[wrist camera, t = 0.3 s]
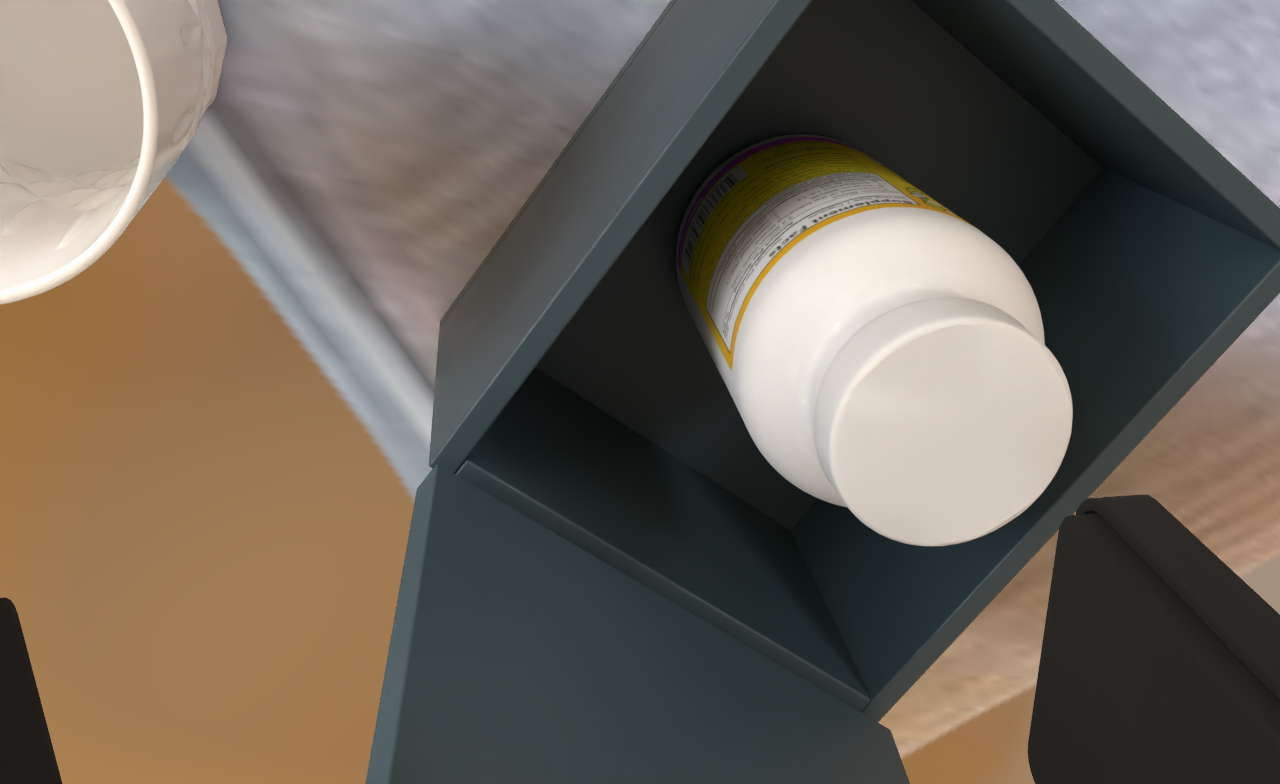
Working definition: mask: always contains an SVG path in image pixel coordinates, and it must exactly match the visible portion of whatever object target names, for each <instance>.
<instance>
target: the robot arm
mask: <svg viewBox="0 0 1280 784" xmlns="http://www.w3.org/2000/svg"><path fill="white" fill-rule="evenodd" d="M1028 758H1029V764H1030V769H1031V773H1032V776H1033V778H1034V781H1035V783H1036V784H1280V615H1279V614H1278V613H1277V612H1276V611H1275V610H1274V609H1273V608H1272V607H1271V606H1270V605H1268V603H1266V602H1265V601H1264V600H1263V599H1262V598H1261V597H1260V596H1259V595H1258V594H1257V593H1256V592H1255V591H1254V590H1253V589H1251V588H1250V587H1249V586H1248V585H1247V584H1246V583H1245V582H1244V581H1243V580H1242V579H1241V578H1240V577H1238V576H1237V575H1236V574H1235V573H1234V572H1233V571H1232V570H1231V569H1230V568H1229V567H1228V566H1227V565H1226V564H1224V563H1223V562H1222V561H1221V560H1220V559H1219V558H1218V557H1217V556H1216V555H1215V554H1214V553H1213V552H1212V551H1210V550H1209V549H1208V548H1207V547H1206V546H1205V545H1204V544H1203V543H1202V542H1201V541H1200V540H1199V539H1198V538H1196V537H1195V536H1194V535H1193V534H1192V533H1191V532H1190V531H1189V530H1188V529H1187V528H1186V527H1185V526H1183V525H1182V524H1181V523H1180V522H1179V521H1178V520H1177V519H1176V518H1175V517H1174V516H1173V515H1172V514H1171V513H1169V512H1168V511H1167V510H1166V509H1165V508H1164V507H1163V506H1162V505H1161V504H1160V503H1159V502H1158V501H1157V500H1155V499H1154V498H1152V497H1150V496H1149V495H1131V496H1117V497H1104V498H1091V499H1086V500H1085V501H1083V502H1082V503H1081V504H1080V506H1079V507H1078V509H1077V511H1076V515H1069V516H1067V517H1065V518H1064V519H1063V521H1062V523H1061V525H1060V529H1059V533H1058V540H1057V547H1056V554H1055V561H1054V568H1053V575H1052V582H1051V588H1050V595H1049V602H1048V609H1047V616H1046V623H1045V630H1044V637H1043V644H1042V651H1041V658H1040V665H1039V672H1038V679H1037V686H1036V693H1035V700H1034V707H1033V714H1032V721H1031V728H1030V735H1029V741H1028ZM0 784H62V781H61V777H60V773H59V770H58V766H57V762H56V758H55V755H54V751H53V747H52V743H51V739H50V735H49V732H48V728H47V724H46V720H45V717H44V712H43V709H42V705H41V701H40V697H39V693H38V690H37V686H36V682H35V678H34V675H33V671H32V667H31V663H30V659H29V655H28V652H27V648H26V644H25V640H24V636H23V632H22V628H21V625H20V621H19V617H18V614H17V611H16V608H15V606H14V604H13V603H12V601H11V600H9V599H7V598H0Z"/></svg>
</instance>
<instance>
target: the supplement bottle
mask: <svg viewBox="0 0 1280 784" xmlns="http://www.w3.org/2000/svg"><path fill="white" fill-rule="evenodd" d="M676 272H677V279H678V283H679V288H680V291H681V294H682V297H683V300H684V302H685V305H686V307H687V309H688V311H689V314H690V316H691V318H692V320H693V322H694V324H695V326H696V328H697V330H698V331H699V333H700V335H701V337H702V339H703V341H704V343H705V345H706V347H707V349H708V351H709V353H710V355H711V357H712V359H713V361H714V363H715V365H716V367H717V369H718V371H719V373H720V375H721V376H722V378H723V380H724V382H725V384H726V386H727V388H728V390H729V392H730V394H731V396H732V398H733V400H734V402H735V404H736V407H737V409H738V411H739V413H740V415H741V417H742V419H743V421H744V423H745V425H746V428H747V430H748V432H749V434H750V436H751V438H752V439H753V441H754V443H755V444H756V446H757V448H758V449H759V451H760V452H761V453H762V455H763V456H764V457H765V459H766V460H767V461H768V462H769V463H770V465H771V466H772V467H773V468H774V469H775V470H776V471H777V472H778V473H780V474H781V475H782V476H783V477H784V478H785V479H786V480H788V481H789V482H791V483H792V484H793V485H795V486H796V487H798V488H799V489H801V490H803V491H804V492H806V493H808V494H810V495H812V496H814V497H816V498H818V499H821V500H823V501H826V502H829V503H832V504H835V505H839V506H843V507H848V509H849V510H850V511H851V512H852V513H853V514H854V515H855V516H856V517H857V518H858V519H859V520H860V521H861V522H862V523H864V524H865V525H866V526H867V527H869V528H871V529H872V530H874V531H875V532H877V533H878V534H880V535H883V536H885V537H887V538H889V539H892V540H895V541H898V542H902V543H905V544H910V545H918V546H946V545H953V544H959V543H963V542H967V541H971V540H973V539H976V538H979V537H982V536H984V535H987V534H989V533H991V532H993V531H995V530H997V529H998V528H1000V527H1002V526H1003V525H1005V524H1007V523H1008V522H1010V521H1011V520H1013V519H1014V518H1016V517H1017V516H1019V515H1020V514H1021V513H1022V512H1024V511H1025V510H1026V509H1027V508H1028V507H1029V506H1031V505H1032V504H1033V502H1034V501H1035V500H1036V499H1037V498H1038V497H1039V496H1040V495H1041V494H1042V493H1043V492H1044V490H1045V489H1046V487H1047V486H1048V485H1049V484H1050V482H1051V481H1052V479H1053V478H1054V476H1055V474H1056V472H1057V471H1058V469H1059V467H1060V465H1061V463H1062V460H1063V458H1064V455H1065V453H1066V450H1067V447H1068V444H1069V440H1070V436H1071V430H1072V419H1073V406H1072V397H1071V393H1070V389H1069V385H1068V382H1067V379H1066V377H1065V374H1064V372H1063V370H1062V368H1061V366H1060V364H1059V362H1058V361H1057V359H1056V358H1055V357H1054V355H1053V354H1052V353H1051V351H1050V350H1049V349H1048V348H1047V347H1046V346H1045V340H1044V329H1043V323H1042V318H1041V313H1040V309H1039V306H1038V303H1037V300H1036V297H1035V295H1034V292H1033V290H1032V288H1031V285H1030V284H1029V282H1028V280H1027V279H1026V277H1025V275H1024V274H1023V272H1022V270H1021V269H1020V268H1019V267H1018V265H1017V264H1016V263H1015V261H1014V260H1013V259H1012V258H1011V257H1010V255H1009V254H1008V253H1007V252H1006V251H1005V250H1004V249H1003V248H1001V247H1000V246H999V245H998V244H997V243H996V242H994V241H993V240H992V239H990V238H989V237H988V236H986V235H985V234H984V233H982V232H981V231H980V230H979V229H977V228H976V227H974V226H973V225H971V224H969V223H968V222H966V221H965V220H963V219H962V218H960V217H959V216H957V215H956V214H954V213H953V212H952V211H950V210H948V209H947V208H945V207H944V206H942V205H941V204H939V203H938V202H937V201H935V200H934V199H932V198H931V197H929V196H928V195H926V194H925V193H923V192H922V191H920V190H919V189H917V188H916V187H914V186H913V185H911V184H910V183H909V182H907V181H906V180H904V179H903V178H901V177H900V176H899V175H897V174H896V173H894V172H893V171H891V170H890V169H889V168H887V167H885V166H884V165H883V164H881V163H880V162H878V161H877V160H875V159H874V158H872V157H870V156H869V155H867V154H865V153H864V152H862V151H860V150H859V149H857V148H855V147H853V146H851V145H849V144H847V143H844V142H842V141H839V140H836V139H833V138H829V137H825V136H819V135H810V134H794V135H784V136H778V137H774V138H770V139H767V140H764V141H761V142H759V143H756V144H754V145H751V146H749V147H747V148H745V149H743V150H741V151H740V152H738V153H736V154H735V155H733V156H732V157H730V158H729V159H727V160H726V161H725V162H724V163H722V164H721V165H720V166H719V167H718V168H716V169H715V170H714V171H713V172H712V173H711V174H710V175H709V176H708V177H707V179H706V180H705V181H704V182H703V184H702V185H701V186H700V188H699V189H698V190H697V192H696V193H695V195H694V197H693V198H692V200H691V202H690V204H689V206H688V208H687V211H686V213H685V216H684V218H683V221H682V223H681V227H680V231H679V235H678V240H677V249H676Z"/></svg>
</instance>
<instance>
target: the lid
mask: <svg viewBox="0 0 1280 784" xmlns="http://www.w3.org/2000/svg"><path fill="white" fill-rule="evenodd" d="M366 784H910V783H909V780H908V777H907V775H906V772H905V769H904V766H903V764H902V761H901V758H900V755H899V752H898V750H897V747H896V744H895V741H894V739H893V736H892V733H891V731H890V730H889V729H888V728H886V727H884V726H883V725H881V724H879V723H878V722H876V721H874V720H873V719H871V718H869V717H867V716H866V715H864V714H862V713H861V712H859V711H857V710H855V709H854V708H852V707H850V706H849V705H847V704H845V703H844V702H842V701H840V700H838V699H837V698H835V697H833V696H832V695H830V694H828V693H827V692H825V691H823V690H821V689H820V688H818V687H816V686H815V685H813V684H811V683H809V682H808V681H806V680H804V679H803V678H801V677H799V676H798V675H796V674H794V673H792V672H791V671H789V670H787V669H786V668H784V667H782V666H781V665H779V664H777V663H775V662H774V661H772V660H770V659H769V658H767V657H765V656H764V655H762V654H760V653H758V652H757V651H755V650H753V649H752V648H750V647H748V646H746V645H745V644H743V643H741V642H740V641H738V640H736V639H735V638H733V637H731V636H729V635H728V634H726V633H724V632H723V631H721V630H719V629H718V628H716V627H714V626H712V625H711V624H709V623H707V622H706V621H704V620H702V619H700V618H699V617H697V616H695V615H694V614H692V613H690V612H689V611H687V610H685V609H683V608H682V607H680V606H678V605H677V604H675V603H673V602H672V601H670V600H668V599H666V598H665V597H663V596H661V595H660V594H658V593H656V592H654V591H653V590H651V589H649V588H648V587H646V586H644V585H643V584H641V583H639V582H637V581H636V580H634V579H632V578H631V577H629V576H627V575H626V574H624V573H622V572H620V571H619V570H617V569H615V568H614V567H612V566H610V565H608V564H607V563H605V562H603V561H602V560H600V559H598V558H597V557H595V556H593V555H591V554H590V553H588V552H586V551H585V550H583V549H581V548H580V547H578V546H576V545H574V544H573V543H571V542H569V541H568V540H566V539H564V538H562V537H561V536H559V535H557V534H556V533H554V532H552V531H551V530H549V529H547V528H545V527H544V526H542V525H540V524H539V523H537V522H535V521H534V520H532V519H530V518H528V517H527V516H525V515H523V514H522V513H520V512H518V511H516V510H515V509H513V508H511V507H510V506H508V505H506V504H505V503H503V502H501V501H499V500H498V499H496V498H494V497H493V496H491V495H489V494H488V493H486V492H484V491H482V490H481V489H479V488H477V487H476V486H474V485H472V484H470V483H469V482H467V481H465V480H464V479H462V478H460V477H459V476H457V475H455V474H453V473H452V472H450V471H448V470H447V469H445V468H443V467H442V466H440V465H436V466H435V467H434V468H433V469H432V471H431V472H430V473H429V474H428V476H427V477H426V478H425V480H424V481H423V482H422V483H421V485H420V486H419V487H418V488H417V492H416V498H415V504H414V509H413V515H412V521H411V527H410V532H409V538H408V544H407V550H406V555H405V561H404V567H403V573H402V578H401V584H400V590H399V596H398V601H397V607H396V613H395V618H394V624H393V630H392V635H391V641H390V647H389V653H388V659H387V664H386V670H385V675H384V682H383V687H382V693H381V698H380V704H379V710H378V716H377V721H376V727H375V733H374V739H373V744H372V750H371V756H370V761H369V768H368V773H367V778H366Z"/></svg>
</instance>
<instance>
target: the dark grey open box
mask: <svg viewBox="0 0 1280 784" xmlns="http://www.w3.org/2000/svg"><path fill="white" fill-rule="evenodd" d="M794 134H810V135H819V136H825V137H829V138H833V139H836V140H839V141H842V142H844V143H847V144H849V145H851V146H853V147H855V148H857V149H859V150H860V151H862V152H864V153H865V154H867V155H869V156H870V157H872V158H874V159H875V160H877V161H878V162H880V163H881V164H883V165H884V166H885V167H887V168H889V169H890V170H891V171H893V172H894V173H896V174H897V175H899V176H900V177H901V178H903V179H904V180H906V181H907V182H909V183H910V184H911V185H913V186H914V187H916V188H917V189H919V190H920V191H922V192H923V193H925V194H926V195H928V196H929V197H931V198H932V199H934V200H935V201H937V202H938V203H939V204H941V205H942V206H944V207H945V208H947V209H948V210H950V211H952V212H953V213H954V214H956V215H957V216H959V217H960V218H962V219H963V220H965V221H966V222H968V223H969V224H971V225H973V226H974V227H976V228H977V229H979V230H980V231H981V232H982V233H984V234H985V235H986V236H988V237H989V238H990V239H992V240H993V241H994V242H996V243H997V244H998V245H999V246H1000V247H1001V248H1003V249H1004V250H1005V251H1006V252H1007V253H1008V254H1009V255H1010V257H1011V258H1012V259H1013V260H1014V261H1015V263H1016V264H1017V265H1018V267H1019V268H1020V269H1021V270H1022V272H1023V274H1024V275H1025V277H1026V279H1027V280H1028V282H1029V284H1030V285H1031V288H1032V290H1033V292H1034V295H1035V297H1036V300H1037V303H1038V306H1039V309H1040V313H1041V318H1042V323H1043V329H1044V340H1045V346H1046V347H1047V348H1048V349H1049V350H1050V351H1051V353H1052V354H1053V355H1054V357H1055V358H1056V359H1057V361H1058V362H1059V364H1060V366H1061V368H1062V370H1063V372H1064V374H1065V377H1066V379H1067V382H1068V385H1069V389H1070V393H1071V397H1072V406H1073V419H1072V430H1071V436H1070V440H1069V444H1068V447H1067V450H1066V453H1065V455H1064V458H1063V460H1062V463H1061V465H1060V467H1059V469H1058V471H1057V472H1056V474H1055V476H1054V478H1053V479H1052V481H1051V482H1050V484H1049V485H1048V486H1047V487H1046V489H1045V490H1044V492H1043V493H1042V494H1041V495H1040V496H1039V497H1038V498H1037V499H1036V500H1035V501H1034V502H1033V504H1032V505H1031V506H1029V507H1028V508H1027V509H1026V510H1025V511H1024V512H1022V513H1021V514H1020V515H1019V516H1017V517H1016V518H1014V519H1013V520H1011V521H1010V522H1008V523H1007V524H1005V525H1003V526H1002V527H1000V528H998V529H997V530H995V531H993V532H991V533H989V534H987V535H984V536H982V537H979V538H976V539H973V540H971V541H967V542H963V543H959V544H953V545H946V546H918V545H910V544H905V543H902V542H898V541H895V540H892V539H889V538H887V537H885V536H883V535H880V534H878V533H877V532H875V531H874V530H872V529H871V528H869V527H867V526H866V525H865V524H864V523H862V522H861V521H860V520H859V519H858V518H857V517H856V516H855V515H854V514H853V513H852V512H851V511H850V510H849V509H848V507H843V506H839V505H835V504H832V503H829V502H826V501H823V500H821V499H818V498H816V497H814V496H812V495H810V494H808V493H806V492H804V491H803V490H801V489H799V488H798V487H796V486H795V485H793V484H792V483H791V482H789V481H788V480H786V479H785V478H784V477H783V476H782V475H781V474H780V473H778V472H777V471H776V470H775V469H774V468H773V467H772V466H771V465H770V463H769V462H768V461H767V460H766V459H765V457H764V456H763V455H762V453H761V452H760V451H759V449H758V448H757V446H756V444H755V443H754V441H753V439H752V438H751V436H750V434H749V432H748V430H747V428H746V425H745V423H744V421H743V419H742V417H741V415H740V413H739V411H738V409H737V407H736V404H735V402H734V400H733V398H732V396H731V394H730V392H729V390H728V388H727V386H726V384H725V382H724V380H723V378H722V376H721V375H720V373H719V371H718V369H717V367H716V365H715V363H714V361H713V359H712V357H711V355H710V353H709V351H708V349H707V347H706V345H705V343H704V341H703V339H702V337H701V335H700V333H699V331H698V330H697V328H696V326H695V324H694V322H693V320H692V318H691V316H690V314H689V311H688V309H687V307H686V305H685V302H684V300H683V297H682V294H681V291H680V288H679V283H678V279H677V272H676V249H677V240H678V235H679V231H680V227H681V223H682V221H683V218H684V216H685V213H686V211H687V208H688V206H689V204H690V202H691V200H692V198H693V197H694V195H695V193H696V192H697V190H698V189H699V188H700V186H701V185H702V184H703V182H704V181H705V180H706V179H707V177H708V176H709V175H710V174H711V173H712V172H713V171H714V170H715V169H716V168H718V167H719V166H720V165H721V164H722V163H724V162H725V161H726V160H727V159H729V158H730V157H732V156H733V155H735V154H736V153H738V152H740V151H741V150H743V149H745V148H747V147H749V146H751V145H754V144H756V143H759V142H761V141H764V140H767V139H770V138H774V137H778V136H784V135H794ZM1279 293H1280V208H1279V207H1278V206H1277V205H1275V204H1274V203H1273V202H1272V201H1271V200H1270V199H1269V198H1268V197H1267V196H1266V195H1265V194H1264V193H1262V192H1261V191H1260V190H1259V189H1258V188H1257V187H1256V186H1255V185H1254V184H1253V183H1252V182H1251V181H1249V180H1248V179H1247V178H1246V177H1245V176H1244V175H1243V174H1242V173H1241V172H1240V171H1239V170H1238V169H1236V168H1235V167H1234V166H1233V165H1232V164H1231V163H1230V162H1229V161H1228V160H1227V159H1226V158H1225V157H1223V156H1222V155H1221V154H1220V153H1219V152H1218V151H1217V150H1216V149H1215V148H1214V147H1213V146H1212V145H1210V144H1209V143H1208V142H1207V141H1206V140H1205V139H1204V138H1203V137H1202V136H1201V135H1200V134H1199V133H1197V132H1196V131H1195V130H1194V129H1193V128H1192V127H1191V126H1190V125H1189V124H1188V123H1187V122H1186V121H1184V120H1183V119H1182V118H1181V117H1180V116H1179V115H1178V114H1177V113H1176V112H1175V111H1174V110H1173V109H1171V108H1170V107H1169V106H1168V105H1167V104H1166V103H1165V102H1164V101H1163V100H1162V99H1161V98H1159V97H1158V96H1157V95H1156V94H1155V93H1154V92H1153V91H1152V90H1151V89H1150V88H1149V87H1148V86H1146V85H1145V84H1144V83H1143V82H1142V81H1141V80H1140V79H1139V78H1138V77H1137V76H1136V75H1135V74H1133V73H1132V72H1131V71H1130V70H1129V69H1128V68H1127V67H1126V66H1125V65H1124V64H1123V63H1122V62H1120V61H1119V60H1118V59H1117V58H1116V57H1115V56H1114V55H1113V54H1112V53H1111V52H1110V51H1109V50H1107V49H1106V48H1105V47H1104V46H1103V45H1102V44H1101V43H1100V42H1099V41H1098V40H1097V39H1096V38H1094V37H1093V36H1092V35H1091V34H1090V33H1089V32H1088V31H1087V30H1086V29H1085V28H1084V27H1083V26H1081V25H1080V24H1079V23H1078V22H1077V21H1076V20H1075V19H1074V18H1073V17H1072V16H1071V15H1070V14H1068V13H1067V12H1066V11H1065V10H1064V9H1063V8H1062V7H1061V6H1060V5H1059V4H1058V3H1057V2H1055V1H1054V0H672V1H671V2H670V3H669V5H668V6H667V7H666V9H665V10H664V12H663V13H662V14H661V16H660V17H659V19H658V20H657V21H656V23H655V24H654V26H653V27H652V28H651V30H650V31H649V32H648V34H647V35H646V37H645V38H644V39H643V41H642V42H641V44H640V45H639V46H638V48H637V49H636V50H635V52H634V53H633V55H632V56H631V57H630V59H629V60H628V62H627V63H626V64H625V66H624V67H623V68H622V70H621V71H620V73H619V74H618V75H617V77H616V78H615V80H614V81H613V82H612V84H611V85H610V87H609V88H608V89H607V91H606V92H605V93H604V95H603V96H602V98H601V99H600V100H599V102H598V103H597V105H596V106H595V107H594V109H593V110H592V111H591V113H590V114H589V116H588V117H587V118H586V120H585V121H584V123H583V124H582V125H581V127H580V128H579V130H578V131H577V132H576V134H575V135H574V136H573V138H572V139H571V141H570V142H569V143H568V145H567V146H566V148H565V149H564V150H563V152H562V153H561V154H560V156H559V157H558V159H557V160H556V161H555V163H554V164H553V166H552V167H551V168H550V170H549V171H548V172H547V174H546V175H545V177H544V178H543V179H542V181H541V182H540V184H539V185H538V186H537V188H536V189H535V191H534V192H533V193H532V195H531V196H530V197H529V199H528V200H527V202H526V203H525V204H524V206H523V207H522V209H521V210H520V211H519V213H518V214H517V215H516V217H515V218H514V220H513V221H512V222H511V224H510V225H509V227H508V228H507V229H506V231H505V232H504V234H503V235H502V236H501V238H500V239H499V240H498V242H497V243H496V245H495V246H494V247H493V249H492V250H491V252H490V253H489V254H488V256H487V257H486V258H485V260H484V261H483V263H482V264H481V265H480V267H479V268H478V270H477V271H476V272H475V274H474V275H473V276H472V278H471V279H470V281H469V282H468V283H467V285H466V286H465V288H464V289H463V290H462V292H461V293H460V295H459V296H458V297H457V299H456V300H455V301H454V303H453V304H452V306H451V307H450V308H449V310H448V311H447V313H446V314H445V315H444V317H443V318H442V319H441V321H440V330H439V342H438V355H437V367H436V380H435V393H434V405H433V418H432V431H431V443H430V456H429V466H430V467H432V468H434V467H435V466H436V465H440V466H442V467H443V468H445V469H447V470H448V471H450V472H452V473H453V474H455V475H457V476H459V477H460V478H462V479H464V480H465V481H467V482H469V483H470V484H472V485H474V486H476V487H477V488H479V489H481V490H482V491H484V492H486V493H488V494H489V495H491V496H493V497H494V498H496V499H498V500H499V501H501V502H503V503H505V504H506V505H508V506H510V507H511V508H513V509H515V510H516V511H518V512H520V513H522V514H523V515H525V516H527V517H528V518H530V519H532V520H534V521H535V522H537V523H539V524H540V525H542V526H544V527H545V528H547V529H549V530H551V531H552V532H554V533H556V534H557V535H559V536H561V537H562V538H564V539H566V540H568V541H569V542H571V543H573V544H574V545H576V546H578V547H580V548H581V549H583V550H585V551H586V552H588V553H590V554H591V555H593V556H595V557H597V558H598V559H600V560H602V561H603V562H605V563H607V564H608V565H610V566H612V567H614V568H615V569H617V570H619V571H620V572H622V573H624V574H626V575H627V576H629V577H631V578H632V579H634V580H636V581H637V582H639V583H641V584H643V585H644V586H646V587H648V588H649V589H651V590H653V591H654V592H656V593H658V594H660V595H661V596H663V597H665V598H666V599H668V600H670V601H672V602H673V603H675V604H677V605H678V606H680V607H682V608H683V609H685V610H687V611H689V612H690V613H692V614H694V615H695V616H697V617H699V618H700V619H702V620H704V621H706V622H707V623H709V624H711V625H712V626H714V627H716V628H718V629H719V630H721V631H723V632H724V633H726V634H728V635H729V636H731V637H733V638H735V639H736V640H738V641H740V642H741V643H743V644H745V645H746V646H748V647H750V648H752V649H753V650H755V651H757V652H758V653H760V654H762V655H764V656H765V657H767V658H769V659H770V660H772V661H774V662H775V663H777V664H779V665H781V666H782V667H784V668H786V669H787V670H789V671H791V672H792V673H794V674H796V675H798V676H799V677H801V678H803V679H804V680H806V681H808V682H809V683H811V684H813V685H815V686H816V687H818V688H820V689H821V690H823V691H825V692H827V693H828V694H830V695H832V696H833V697H835V698H837V699H838V700H840V701H842V702H844V703H845V704H847V705H849V706H850V707H852V708H854V709H855V710H857V711H859V712H861V713H862V714H864V715H866V716H867V717H869V718H871V719H873V720H874V721H876V722H879V721H880V720H881V719H882V717H883V716H884V715H885V714H886V713H887V712H888V711H889V710H890V709H891V708H892V707H893V706H894V705H895V704H896V702H897V701H898V700H899V699H900V698H901V697H902V696H903V695H904V694H905V693H906V692H907V691H908V690H909V689H910V688H911V686H912V685H913V684H914V683H915V682H916V681H917V680H918V679H919V678H920V677H921V676H922V675H923V674H924V673H925V671H926V670H927V669H928V668H929V667H930V666H931V665H932V664H933V663H934V662H935V661H936V660H937V659H938V658H939V657H940V655H941V654H942V653H943V652H944V651H945V650H946V649H947V648H948V647H949V646H950V645H951V644H952V643H953V642H954V640H955V639H956V638H957V637H958V636H959V635H960V634H961V633H962V632H963V631H964V630H965V629H966V628H967V627H968V626H969V624H970V623H971V622H972V621H973V620H974V619H975V618H976V617H977V616H978V615H979V614H980V613H981V612H982V611H983V609H984V608H985V607H986V606H987V605H988V604H989V603H990V602H991V601H992V600H993V599H994V598H995V597H996V596H997V595H998V593H999V592H1000V591H1001V590H1002V589H1003V588H1004V587H1005V586H1006V585H1007V584H1008V583H1009V582H1010V581H1011V580H1012V578H1013V577H1014V576H1015V575H1016V574H1017V573H1018V572H1019V571H1020V570H1021V569H1022V568H1023V567H1024V566H1025V565H1026V564H1027V562H1028V561H1029V560H1030V559H1031V558H1032V557H1033V556H1034V555H1035V554H1036V553H1037V552H1038V551H1039V550H1040V549H1041V547H1042V546H1043V545H1044V544H1045V543H1046V542H1047V541H1048V540H1049V539H1050V538H1051V537H1052V536H1053V535H1054V534H1055V533H1056V531H1057V530H1058V529H1059V528H1060V525H1061V523H1062V521H1063V519H1064V518H1065V517H1067V516H1069V515H1072V514H1073V513H1074V512H1075V511H1076V510H1077V509H1078V507H1079V506H1080V504H1081V503H1082V502H1083V501H1085V500H1086V499H1087V498H1088V497H1089V496H1090V495H1091V494H1092V493H1093V492H1094V491H1095V490H1096V489H1097V488H1098V487H1099V485H1100V484H1101V483H1102V482H1103V481H1104V480H1105V479H1106V478H1107V477H1108V476H1109V475H1110V474H1111V473H1112V472H1113V470H1114V469H1115V468H1116V467H1117V466H1118V465H1119V464H1120V463H1121V462H1122V461H1123V460H1124V459H1125V458H1126V457H1127V456H1128V454H1129V453H1130V452H1131V451H1132V450H1133V449H1134V448H1135V447H1136V446H1137V445H1138V444H1139V443H1140V442H1141V441H1142V439H1143V438H1144V437H1145V436H1146V435H1147V434H1148V433H1149V432H1150V431H1151V430H1152V429H1153V428H1154V427H1155V426H1156V425H1157V423H1158V422H1159V421H1160V420H1161V419H1162V418H1163V417H1164V416H1165V415H1166V414H1167V413H1168V412H1169V411H1170V410H1171V408H1172V407H1173V406H1174V405H1175V404H1176V403H1177V402H1178V401H1179V400H1180V399H1181V398H1182V397H1183V396H1184V395H1185V394H1186V392H1187V391H1188V390H1189V389H1190V388H1191V387H1192V386H1193V385H1194V384H1195V383H1196V382H1197V381H1198V380H1199V379H1200V377H1201V376H1202V375H1203V374H1204V373H1205V372H1206V371H1207V370H1208V369H1209V368H1210V367H1211V366H1212V365H1213V364H1214V363H1215V361H1216V360H1217V359H1218V358H1219V357H1220V356H1221V355H1222V354H1223V353H1224V352H1225V351H1226V350H1227V349H1228V348H1229V346H1230V345H1231V344H1232V343H1233V342H1234V341H1235V340H1236V339H1237V338H1238V337H1239V336H1240V335H1241V334H1242V333H1243V332H1244V330H1245V329H1246V328H1247V327H1248V326H1249V325H1250V324H1251V323H1252V322H1253V321H1254V320H1255V319H1256V318H1257V317H1258V315H1259V314H1260V313H1261V312H1262V311H1263V310H1264V309H1265V308H1266V307H1267V306H1268V305H1269V304H1270V303H1271V302H1272V301H1273V299H1274V298H1275V297H1276V296H1277V295H1278V294H1279Z"/></svg>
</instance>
